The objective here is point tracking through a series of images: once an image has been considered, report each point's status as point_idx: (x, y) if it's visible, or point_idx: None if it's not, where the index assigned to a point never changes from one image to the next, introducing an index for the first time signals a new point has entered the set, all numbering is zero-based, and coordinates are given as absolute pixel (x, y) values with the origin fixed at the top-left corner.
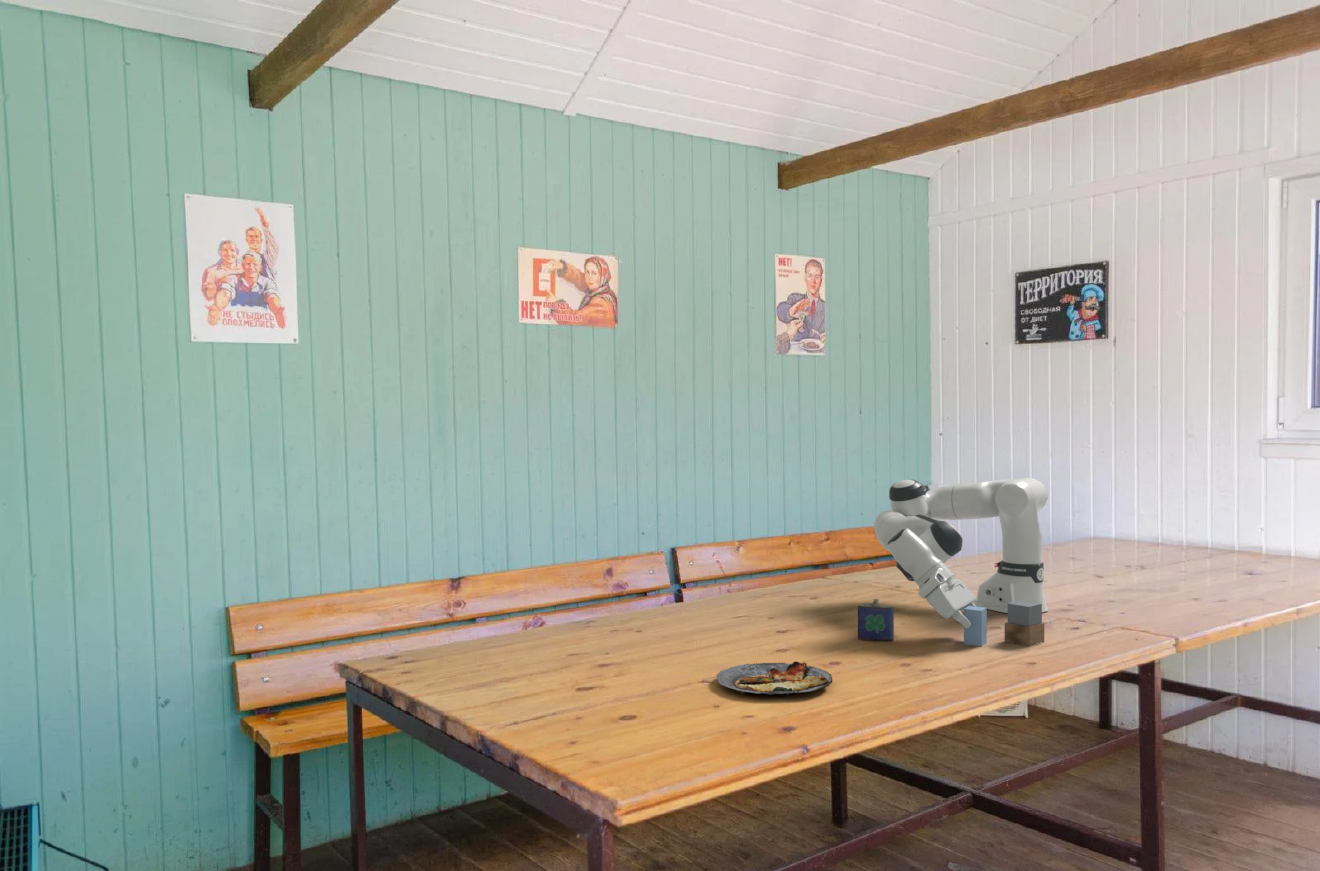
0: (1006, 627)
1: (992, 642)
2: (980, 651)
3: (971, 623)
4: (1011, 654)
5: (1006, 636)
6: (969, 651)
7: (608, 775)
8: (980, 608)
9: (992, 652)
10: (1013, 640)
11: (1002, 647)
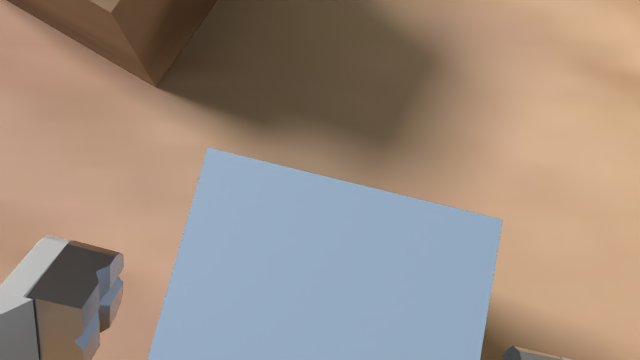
0: (137, 18)
1: None
2: (559, 256)
3: (556, 357)
4: (560, 48)
5: (155, 56)
6: (593, 338)
7: None
8: (316, 246)
9: (555, 171)
10: (194, 16)
11: (371, 103)
